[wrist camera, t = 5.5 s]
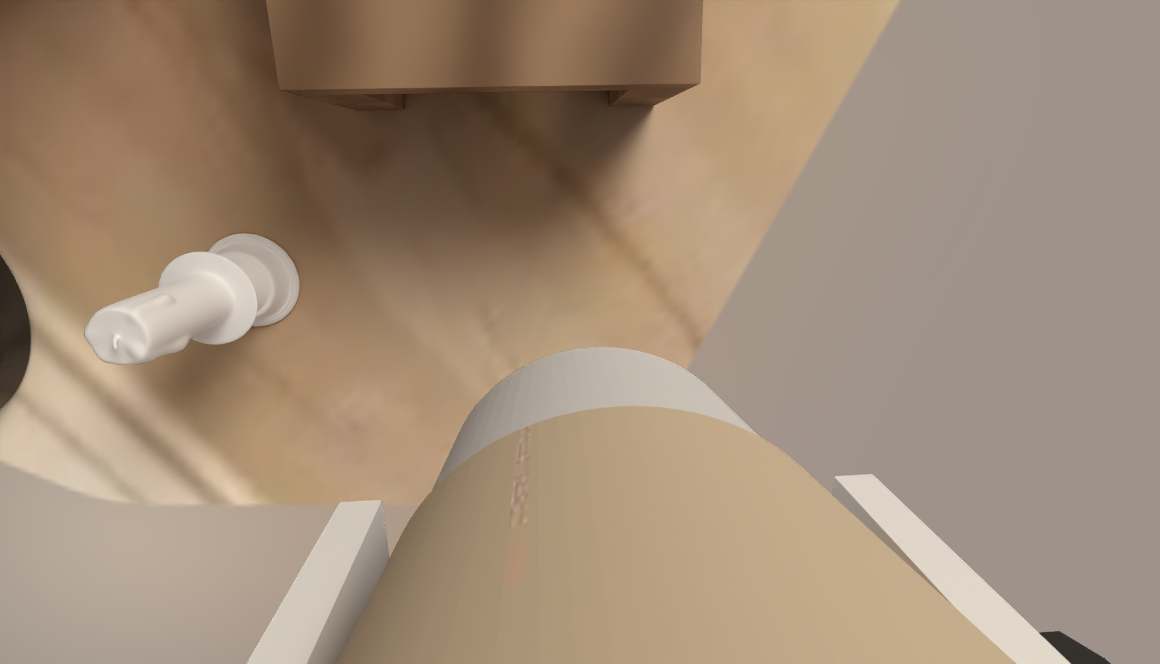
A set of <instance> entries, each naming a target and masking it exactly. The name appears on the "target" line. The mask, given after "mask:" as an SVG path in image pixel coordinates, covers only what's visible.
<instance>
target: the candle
mask: <svg viewBox="0 0 1160 664" xmlns="http://www.w3.org/2000/svg"><path fill="white" fill-rule="evenodd" d="M299 288H300V284H299V276H298V273H297V270H296V267H295V265H294V263H293V261H292V260H291V258H290V257H289V256H288V254H287V253H286V252H285V251H284V250H283V249H282V248H281V247H280V246H278V245H277V244H276V243H274V242H272V241H271V240H269V239H267V238H264V237H262V236H258V235H254V234H245V233H243V234H234V235H230V236H227V237H225V238H223V239H221V240H219V241H218V242H216V243H215V244H214V245H213V246H212V247H211V248H210V249H209V251H208V252H192V253H187V254H184V255H182V256H180V257H178V258H176V259H174V260H173V261H172V262H171V263H170V264H169V265H168V266H167V267H166V268H165V269H164V271H163V273H162V275H161V277H160V280H159V284H158V288H156V289H153V290H150V291H147V292H144V293H141V294H138V295H135V296H133V297H130V298H127V299H124V300H121V301H119V302H116V303H113V304H111V305H109V306H106V307H104V308H102V309H101V310H99V311H98V312H96V313H95V314H94V315H93V316H92V317H91V319H90V321H89V323H88V325H87V326H86V328H85V331H84V336H85V339H86V340H87V342H88V343H89V344H90V346H91V347H92V348H93V350H94V352H95V353H96V355H97V356H98V358H99V359H100V360H102V361H104V362H106V363H112V364H119V365H132V364H141V363H146V362H149V361H152V360H154V359H156V358H158V357H160V356H163V355H167V354H172V353H176V352H179V351H181V350H183V349H184V348H185V347H186V346H187V344H188V342H189V340H190V339H192V340H194V341H197V342H200V343H204V344H213V345H217V344H225V343H229V342H232V341H235V340H237V339H238V338H240V337H242V336H243V335H244V334H245V333H246V332H247V331H248V330H249V329H250V328H251V326H266V325H270V324H273V323H276V322H278V321H280V320H281V319H283V318H284V317H285V316H287V315H288V314H289V313H290V311H291V310H292V309H293V307H294V306H295V304H296V302H297V299H298V295H299Z"/></svg>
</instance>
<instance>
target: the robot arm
mask: <svg viewBox="0 0 1160 664" xmlns="http://www.w3.org/2000/svg"><path fill="white" fill-rule="evenodd" d="M29 351H30V325H29V319H28V314H27V309H26V305H25V302H24V299H23V296H22V294H21V291H20V289H19V286H18V284H17V282H16V280H15V278H14V276H13V274H12V273H11V271H10V269H9V267H8V266H7V264H6V263H5V261H4V260H3V258H2V257H1V255H0V407H1V406H3V405H4V404H5V402H6V401H7V400H8V399H9V398H10V397H11V396H12V394H13V393H14V391H15V390H16V388H17V387H18V385H19V383H20V381H21V379H22V377H23V375H24V372H25V369H26V366H27V362H28V357H29ZM832 496H834V497H835V498H836V499H837V500H838V501H839V502H840V503H841V504H842V505H843V506H844V507H846V508H847V509H848V510H849V511H850V512H851V513H852V514H853V515H854V516H855V517H856V518H858V519H859V520H860V521H861V522H862V523H863V524H864V525H865V526H866V527H867V528H869V529H870V530H871V531H872V532H873V533H874V534H875V535H876V536H877V537H878V538H879V539H881V540H882V541H883V542H884V543H885V544H886V545H887V546H888V547H889V548H890V549H892V550H893V551H894V552H895V553H896V554H897V555H898V556H899V557H900V558H901V559H902V560H904V561H905V562H906V563H907V564H908V565H909V566H910V567H911V568H912V569H913V570H914V571H916V572H917V573H918V574H919V575H920V576H921V577H922V578H923V579H924V580H925V581H927V582H928V583H929V584H930V585H931V586H932V587H933V588H934V589H935V590H936V591H937V592H939V593H940V594H941V595H942V596H943V597H944V598H945V599H946V600H947V601H948V602H949V603H951V604H952V605H953V606H954V607H955V608H956V609H957V610H958V611H959V612H960V613H962V614H963V615H964V616H965V617H966V618H967V619H968V620H969V621H970V622H971V623H972V624H974V625H975V626H976V627H977V628H978V629H979V630H980V631H981V632H982V633H983V634H985V635H986V636H987V637H988V638H989V639H990V640H991V641H992V642H993V643H994V644H995V645H997V646H998V647H999V648H1000V649H1001V650H1002V651H1003V652H1004V653H1005V654H1006V655H1007V656H1009V657H1010V658H1011V659H1012V660H1013V661H1014V662H1015V663H1016V664H1110V663H1109V662H1108V661H1107V660H1105V658H1103V657H1101V656H1099V655H1098V654H1096V653H1095V652H1093V651H1091V650H1089V649H1088V648H1086V647H1085V646H1083V645H1081V644H1080V643H1078V642H1076V641H1075V640H1073V639H1071V638H1070V637H1068V636H1066V635H1065V634H1063V633H1061V632H1060V631H1055V632H1042V633H1038V632H1037V631H1036V630H1035V629H1034V628H1033V627H1032V626H1031V625H1030V624H1029V623H1028V622H1027V621H1026V620H1025V619H1023V618H1022V617H1021V616H1020V615H1019V614H1018V613H1017V612H1016V611H1015V610H1014V609H1013V608H1012V607H1011V606H1010V605H1009V604H1008V603H1007V602H1006V601H1005V600H1004V599H1002V598H1001V597H1000V596H999V595H998V594H997V593H996V592H995V591H994V590H993V589H992V588H991V587H990V586H989V585H988V584H987V583H986V582H985V581H984V580H983V579H981V577H979V576H978V575H977V574H976V573H975V572H974V571H973V570H972V569H971V568H970V567H969V566H968V565H967V564H966V563H965V562H964V561H963V560H962V559H961V558H960V557H959V556H957V555H956V554H955V553H954V552H953V551H952V550H951V549H950V548H949V547H948V546H947V545H946V544H945V543H944V542H943V541H942V540H941V539H939V537H937V536H936V535H935V534H934V533H933V532H932V531H931V530H930V529H929V528H928V527H927V526H926V525H925V524H924V523H923V522H922V521H921V520H920V519H919V518H918V517H916V516H915V515H914V514H913V513H912V512H911V511H910V510H909V509H908V508H907V507H906V506H905V505H904V504H903V503H902V502H901V501H900V500H899V499H898V498H897V497H896V496H895V495H894V494H892V493H891V492H890V491H889V490H888V489H887V488H886V487H885V486H884V485H883V484H882V483H881V482H880V481H879V480H878V479H877V478H876V477H875V476H874V475H872V474H870V475H850V476H834V482H833V491H832ZM388 560H389V551H388V543H387V535H386V528H385V520H384V512H383V504H382V500H372V501H353V502H340V503H339V505H338V507H337V508H336V510H335V512H334V514H333V515H332V517H331V519H330V520H329V522H328V524H327V526H326V527H325V529H324V531H323V533H322V534H321V536H320V538H319V539H318V541H317V543H316V545H315V546H314V548H313V550H312V552H311V553H310V555H309V557H308V558H307V560H306V562H305V564H304V565H303V567H302V569H301V571H300V572H299V574H298V576H297V578H296V579H295V581H294V583H293V585H292V586H291V588H290V590H289V591H288V593H287V595H286V596H285V598H284V600H283V602H282V604H281V605H280V607H279V609H278V610H277V612H276V614H275V615H274V617H273V619H272V621H271V622H270V624H269V626H268V628H267V629H266V631H265V633H264V634H263V636H262V638H261V640H260V641H259V643H258V645H257V647H256V648H255V650H254V652H253V654H252V655H251V657H250V659H249V660H248V662H247V664H337V662H338V660H339V658H340V656H341V654H342V652H343V650H344V648H345V646H346V644H347V642H348V640H349V638H350V636H351V634H352V632H353V630H354V628H355V626H356V624H357V622H358V620H359V618H360V616H361V614H362V612H363V610H364V608H365V606H366V604H367V602H368V600H369V598H370V596H371V594H372V592H373V590H374V588H375V586H376V584H377V582H378V580H379V578H380V576H381V574H382V572H383V570H384V568H385V566H386V564H387V562H388Z"/></svg>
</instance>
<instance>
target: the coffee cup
mask: <svg viewBox="0 0 1160 664" xmlns="http://www.w3.org/2000/svg"><path fill="white" fill-rule="evenodd" d="M337 664H1016V663H1015V662H1014V661H1013V660H1012V659H1011V658H1010V657H1009V656H1007V655H1006V654H1005V653H1004V652H1003V651H1002V650H1001V649H1000V648H999V647H998V646H997V645H995V644H994V643H993V642H992V641H991V640H990V639H989V638H988V637H987V636H986V635H985V634H983V633H982V632H981V631H980V630H979V629H978V628H977V627H976V626H975V625H974V624H972V623H971V622H970V621H969V620H968V619H967V618H966V617H965V616H964V615H963V614H962V613H960V612H959V611H958V610H957V609H956V608H955V607H954V606H953V605H952V604H951V603H949V602H948V601H947V600H946V599H945V598H944V597H943V596H942V595H941V594H940V593H939V592H937V591H936V590H935V589H934V588H933V587H932V586H931V585H930V584H929V583H928V582H927V581H925V580H924V579H923V578H922V577H921V576H920V575H919V574H918V573H917V572H916V571H914V570H913V569H912V568H911V567H910V566H909V565H908V564H907V563H906V562H905V561H904V560H902V559H901V558H900V557H899V556H898V555H897V554H896V553H895V552H894V551H893V550H892V549H890V548H889V547H888V546H887V545H886V544H885V543H884V542H883V541H882V540H881V539H879V538H878V537H877V536H876V535H875V534H874V533H873V532H872V531H871V530H870V529H869V528H867V527H866V526H865V525H864V524H863V523H862V522H861V521H860V520H859V519H858V518H856V517H855V516H854V515H853V514H852V513H851V512H850V511H849V510H848V509H847V508H846V507H844V506H843V505H842V504H841V503H840V502H839V501H838V500H837V499H836V498H835V497H834V496H832V495H831V494H830V493H829V492H828V491H827V490H826V489H825V488H824V487H822V486H821V485H820V484H819V483H818V482H817V481H816V480H815V479H814V478H812V476H811V475H809V474H808V473H807V472H806V471H805V470H804V469H803V468H802V467H801V466H800V465H798V464H797V463H796V462H795V461H794V460H793V459H791V458H790V457H789V456H788V455H786V454H785V453H784V452H782V451H781V450H780V449H778V448H777V447H775V446H774V445H772V444H771V443H769V442H767V441H766V440H764V439H762V438H760V437H759V436H758V435H757V434H756V433H755V432H754V431H753V430H751V428H749V427H748V426H747V424H745V423H744V422H743V421H742V420H741V419H740V418H739V417H738V416H737V415H736V414H735V413H734V412H733V411H732V410H731V409H730V408H729V407H728V406H727V405H726V404H725V403H724V402H723V401H722V400H721V399H720V398H719V397H718V396H717V395H716V394H715V393H714V392H713V391H711V389H709V387H708V386H706V385H705V384H704V383H703V382H702V381H700V380H699V379H698V378H697V377H695V376H694V375H692V374H691V373H690V372H688V371H687V370H685V369H683V368H682V367H680V366H678V365H676V364H674V363H672V362H670V361H668V360H665V359H663V358H660V357H658V356H655V355H651V354H648V353H645V352H640V351H636V350H631V349H624V348H613V347H591V348H580V349H574V350H569V351H564V352H560V353H556V354H553V355H549V356H547V357H544V358H541V359H539V360H536V361H534V362H532V363H530V364H528V365H525V366H523V367H522V368H520V369H518V370H516V371H515V372H513V373H512V374H510V375H509V376H507V377H506V378H504V379H503V380H502V381H500V382H499V383H498V384H497V385H495V386H494V387H493V388H492V389H491V390H490V391H489V392H488V393H487V394H486V395H485V396H484V397H483V398H482V399H481V400H480V401H479V402H478V404H477V405H476V406H475V408H474V409H473V410H472V412H471V413H470V414H469V416H468V418H467V419H466V421H465V422H464V424H463V426H462V428H461V430H460V432H459V434H458V436H457V438H456V441H455V443H454V445H453V447H452V449H451V451H450V453H449V456H448V458H447V460H446V462H445V464H444V466H443V468H442V470H441V473H440V475H439V477H438V479H437V481H436V483H435V485H434V487H433V490H432V492H431V493H430V494H429V495H428V496H427V497H426V498H425V499H424V501H423V502H422V503H421V505H420V506H419V507H418V509H417V510H416V511H415V513H414V514H413V516H412V518H411V519H410V520H409V522H408V524H407V526H406V527H405V529H404V531H403V533H402V535H401V537H400V539H399V541H398V543H397V544H396V546H395V548H394V551H393V553H392V554H391V557H390V558H389V560H388V562H387V564H386V566H385V568H384V570H383V572H382V574H381V576H380V578H379V580H378V582H377V584H376V586H375V588H374V590H373V592H372V594H371V596H370V598H369V600H368V602H367V604H366V606H365V608H364V610H363V612H362V614H361V616H360V618H359V620H358V622H357V624H356V626H355V628H354V630H353V632H352V634H351V636H350V638H349V640H348V642H347V644H346V646H345V648H344V650H343V652H342V654H341V656H340V658H339V660H338V662H337Z"/></svg>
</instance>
